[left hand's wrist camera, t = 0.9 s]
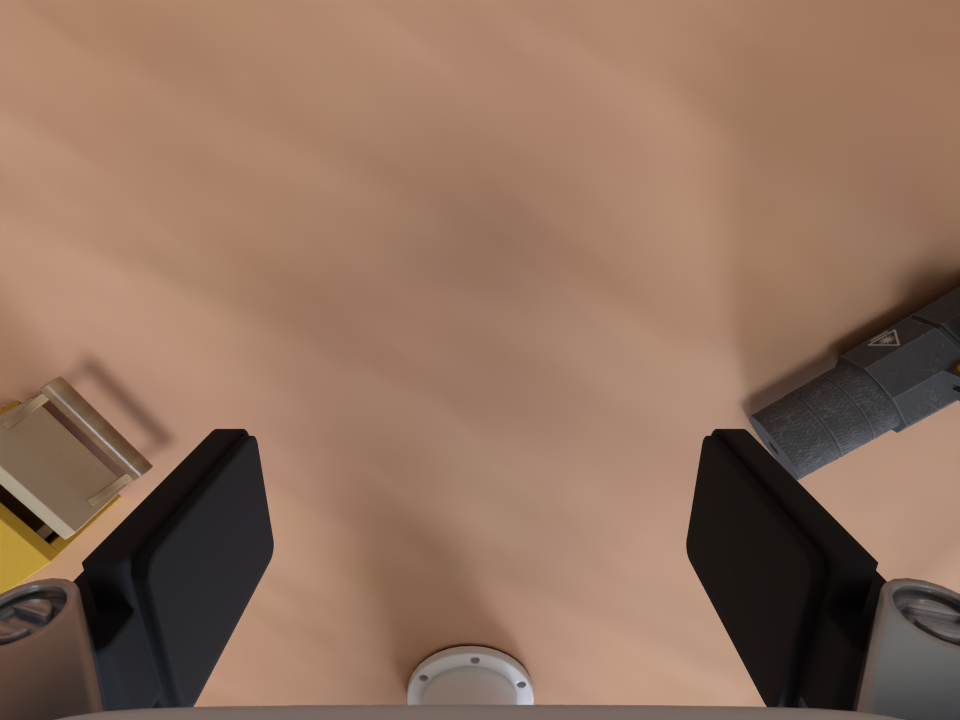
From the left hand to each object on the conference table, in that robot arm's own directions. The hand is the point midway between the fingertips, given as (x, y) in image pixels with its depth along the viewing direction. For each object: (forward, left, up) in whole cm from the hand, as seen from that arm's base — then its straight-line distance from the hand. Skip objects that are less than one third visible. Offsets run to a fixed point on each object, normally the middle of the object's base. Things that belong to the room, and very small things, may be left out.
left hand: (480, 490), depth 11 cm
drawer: (-21, +35, -29) cm, 50 cm away
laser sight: (-5, -32, -30) cm, 44 cm away
